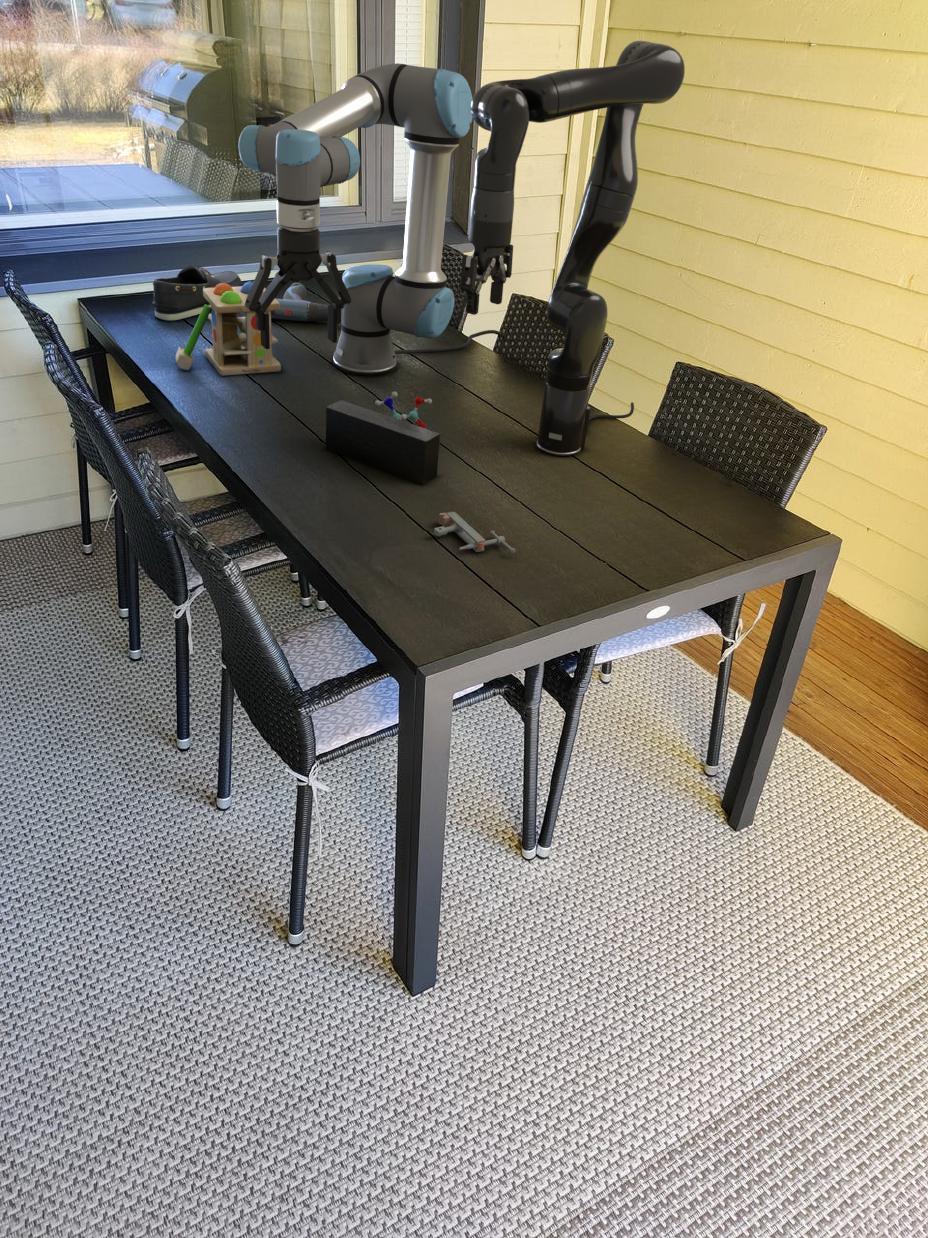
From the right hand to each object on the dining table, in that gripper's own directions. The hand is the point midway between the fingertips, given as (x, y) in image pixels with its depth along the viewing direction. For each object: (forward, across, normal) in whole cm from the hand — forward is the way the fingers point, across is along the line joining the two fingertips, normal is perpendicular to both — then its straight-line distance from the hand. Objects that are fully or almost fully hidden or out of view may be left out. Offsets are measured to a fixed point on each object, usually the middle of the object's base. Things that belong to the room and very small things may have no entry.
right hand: (484, 308), depth 180 cm
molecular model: (+31, +3, +20) cm, 37 cm away
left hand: (+10, -15, +31) cm, 36 cm away
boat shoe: (+31, +35, +108) cm, 117 cm away
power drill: (+31, +50, +84) cm, 103 cm away
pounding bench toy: (+31, +6, +72) cm, 78 cm away
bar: (+31, -12, +14) cm, 36 cm away
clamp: (+31, -28, -16) cm, 45 cm away
